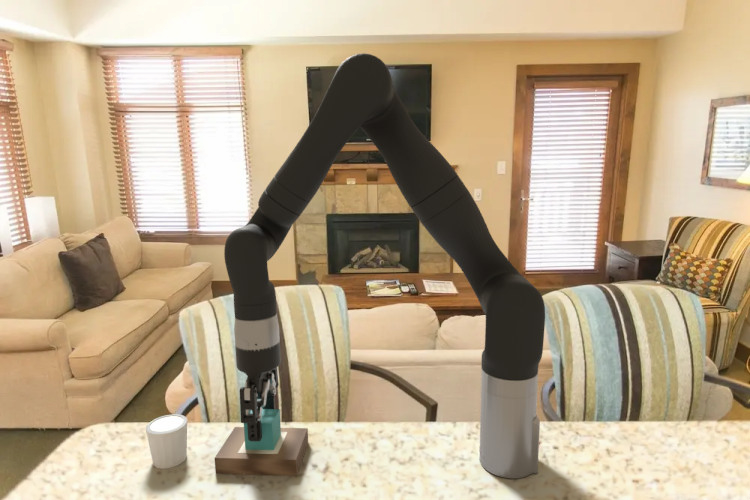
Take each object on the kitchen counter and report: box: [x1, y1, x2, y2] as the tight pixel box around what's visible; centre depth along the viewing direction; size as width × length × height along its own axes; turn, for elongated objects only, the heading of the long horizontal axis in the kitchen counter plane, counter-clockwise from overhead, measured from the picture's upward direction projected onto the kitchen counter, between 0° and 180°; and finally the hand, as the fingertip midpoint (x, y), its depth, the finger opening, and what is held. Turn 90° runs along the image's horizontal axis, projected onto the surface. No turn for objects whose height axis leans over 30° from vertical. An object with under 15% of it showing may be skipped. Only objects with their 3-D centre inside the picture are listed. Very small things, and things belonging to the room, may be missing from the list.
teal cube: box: [243, 408, 282, 450], centre depth 86 cm, size 5×5×5 cm
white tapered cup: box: [145, 413, 188, 469], centre depth 86 cm, size 7×7×7 cm
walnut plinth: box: [214, 426, 309, 477], centre depth 86 cm, size 14×10×3 cm
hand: (262, 427), depth 86 cm, fingers open, 8 cm apart
